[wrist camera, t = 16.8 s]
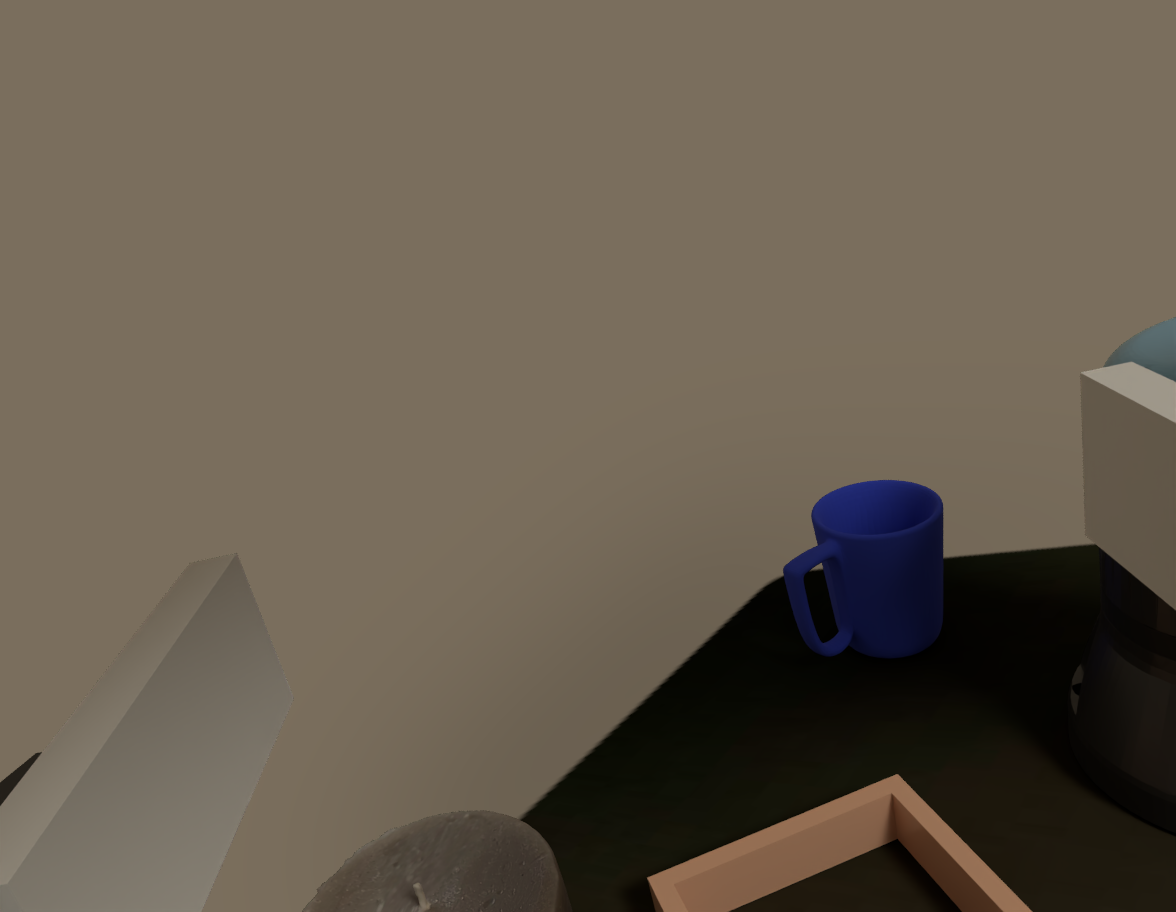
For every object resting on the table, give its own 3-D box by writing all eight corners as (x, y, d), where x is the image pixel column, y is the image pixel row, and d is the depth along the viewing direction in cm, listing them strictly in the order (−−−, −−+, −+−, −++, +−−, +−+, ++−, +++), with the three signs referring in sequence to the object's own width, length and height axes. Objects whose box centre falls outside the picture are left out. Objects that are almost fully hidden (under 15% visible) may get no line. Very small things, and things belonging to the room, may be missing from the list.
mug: (764, 667, 65) (741, 538, 61) (884, 592, 70) (869, 469, 67) (855, 718, 58) (836, 576, 55) (981, 630, 64) (970, 496, 60)
